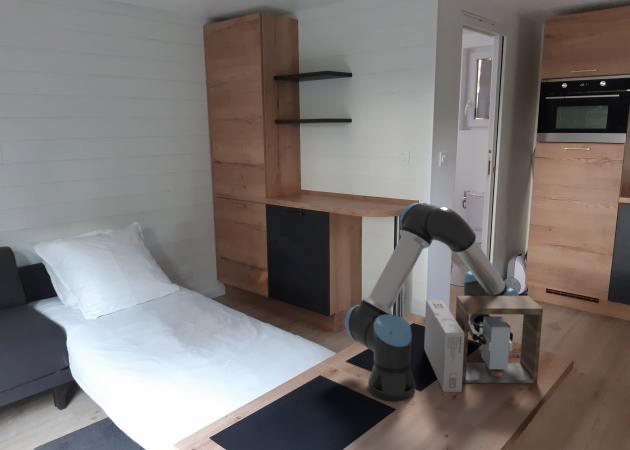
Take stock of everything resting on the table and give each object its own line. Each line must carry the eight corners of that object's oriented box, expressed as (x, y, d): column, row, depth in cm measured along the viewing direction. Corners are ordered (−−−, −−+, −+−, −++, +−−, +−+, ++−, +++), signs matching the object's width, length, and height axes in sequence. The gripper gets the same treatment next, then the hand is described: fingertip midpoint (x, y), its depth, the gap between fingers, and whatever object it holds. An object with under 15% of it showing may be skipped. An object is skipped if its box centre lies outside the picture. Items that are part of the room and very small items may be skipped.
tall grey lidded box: (489, 369, 163) (491, 326, 160) (481, 356, 172) (483, 316, 169) (507, 369, 163) (510, 326, 160) (498, 356, 172) (501, 316, 169)
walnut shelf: (462, 382, 162) (465, 308, 157) (453, 365, 174) (456, 295, 169) (536, 383, 161) (542, 308, 156) (523, 365, 173) (528, 295, 168)
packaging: (462, 391, 157) (464, 333, 153) (442, 391, 157) (445, 333, 153) (440, 349, 187) (442, 299, 183) (424, 349, 187) (425, 299, 183)
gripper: (505, 329, 184) (529, 357, 161) (454, 329, 184) (470, 357, 162) (506, 310, 182) (530, 336, 160) (454, 310, 183) (471, 336, 160)
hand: (500, 346), depth 161 cm, fingers closed on tall grey lidded box, 6 cm apart
